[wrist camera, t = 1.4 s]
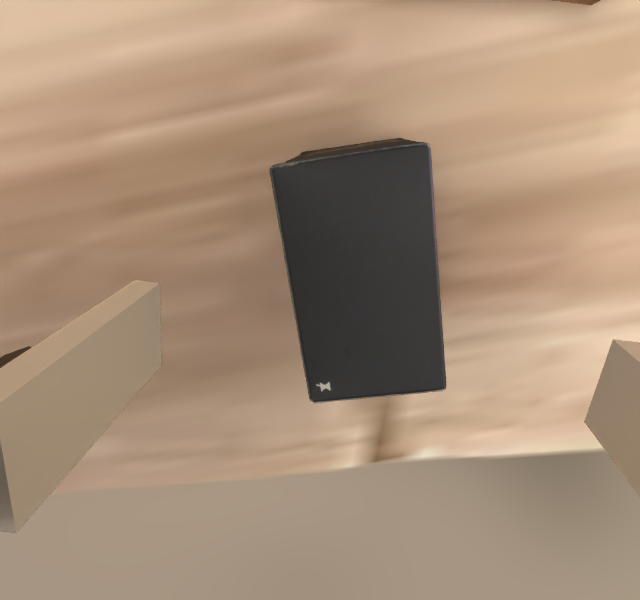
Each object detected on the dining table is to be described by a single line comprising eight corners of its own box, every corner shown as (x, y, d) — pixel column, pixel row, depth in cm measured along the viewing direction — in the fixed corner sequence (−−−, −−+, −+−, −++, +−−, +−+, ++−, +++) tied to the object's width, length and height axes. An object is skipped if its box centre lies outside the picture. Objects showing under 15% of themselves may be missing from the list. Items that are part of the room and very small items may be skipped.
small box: (423, 308, 30) (454, 397, 20) (322, 319, 31) (304, 410, 21) (410, 134, 26) (438, 139, 17) (296, 151, 27) (259, 166, 18)
